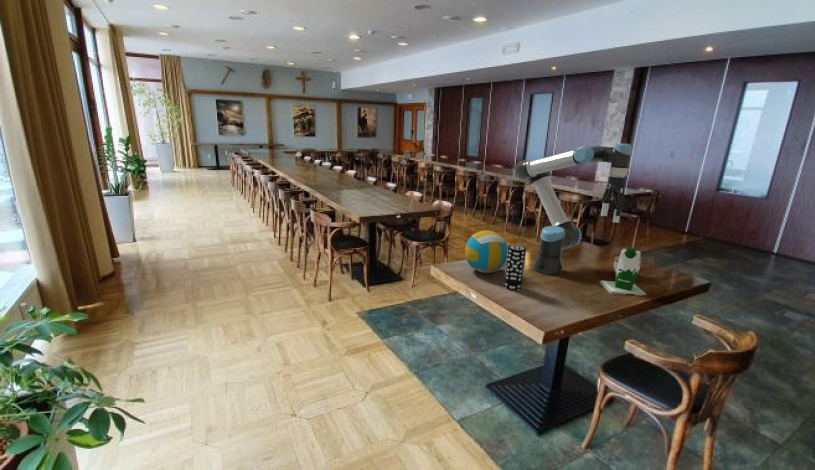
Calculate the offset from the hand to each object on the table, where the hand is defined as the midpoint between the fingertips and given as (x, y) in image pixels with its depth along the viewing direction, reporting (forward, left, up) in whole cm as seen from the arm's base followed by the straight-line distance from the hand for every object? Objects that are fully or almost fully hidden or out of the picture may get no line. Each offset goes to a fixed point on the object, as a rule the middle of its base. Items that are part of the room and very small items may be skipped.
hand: (609, 219), depth 199 cm
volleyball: (-59, 0, -32) cm, 67 cm away
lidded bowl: (+16, +6, -32) cm, 36 cm away
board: (+6, -13, -32) cm, 35 cm away
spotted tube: (-48, -19, -32) cm, 61 cm away
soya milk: (+7, -13, -31) cm, 34 cm away
